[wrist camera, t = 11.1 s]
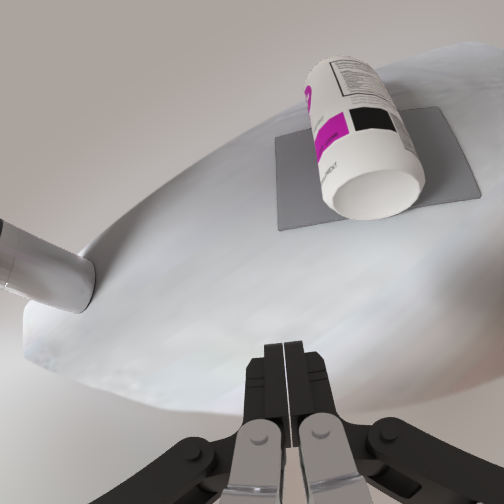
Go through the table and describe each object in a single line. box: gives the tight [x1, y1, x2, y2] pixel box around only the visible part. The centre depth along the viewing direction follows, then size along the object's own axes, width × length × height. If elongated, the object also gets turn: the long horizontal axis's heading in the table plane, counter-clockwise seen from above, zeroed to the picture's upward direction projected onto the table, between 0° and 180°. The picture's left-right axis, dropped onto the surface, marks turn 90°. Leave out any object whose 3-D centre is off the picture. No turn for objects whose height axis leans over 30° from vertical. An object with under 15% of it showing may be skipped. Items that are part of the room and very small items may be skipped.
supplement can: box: [304, 56, 425, 220], centre depth 21 cm, size 8×8×15 cm
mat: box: [275, 107, 481, 231], centre depth 24 cm, size 20×12×1 cm, turn 89°
